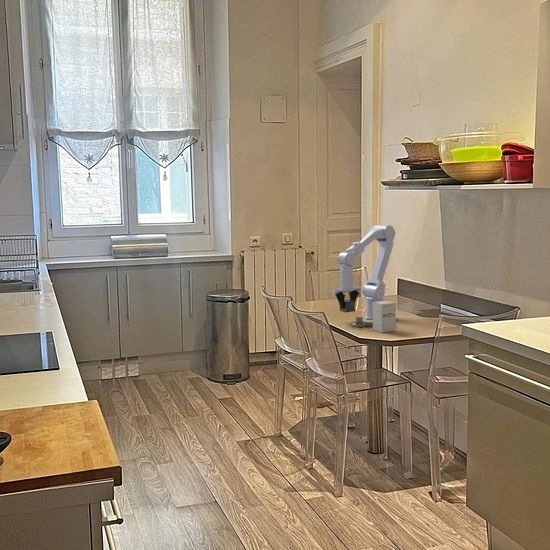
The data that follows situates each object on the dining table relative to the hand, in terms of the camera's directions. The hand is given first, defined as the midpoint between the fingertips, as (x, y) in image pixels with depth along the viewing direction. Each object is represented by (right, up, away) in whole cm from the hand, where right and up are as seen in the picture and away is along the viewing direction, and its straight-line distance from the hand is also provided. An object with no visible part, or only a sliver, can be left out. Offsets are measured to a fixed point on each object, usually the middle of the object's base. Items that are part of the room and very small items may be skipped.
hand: (347, 307), depth 323 cm
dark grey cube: (0, -2, 0) cm, 2 cm away
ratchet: (+11, -8, -8) cm, 15 cm away
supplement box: (+14, -9, -18) cm, 24 cm away
